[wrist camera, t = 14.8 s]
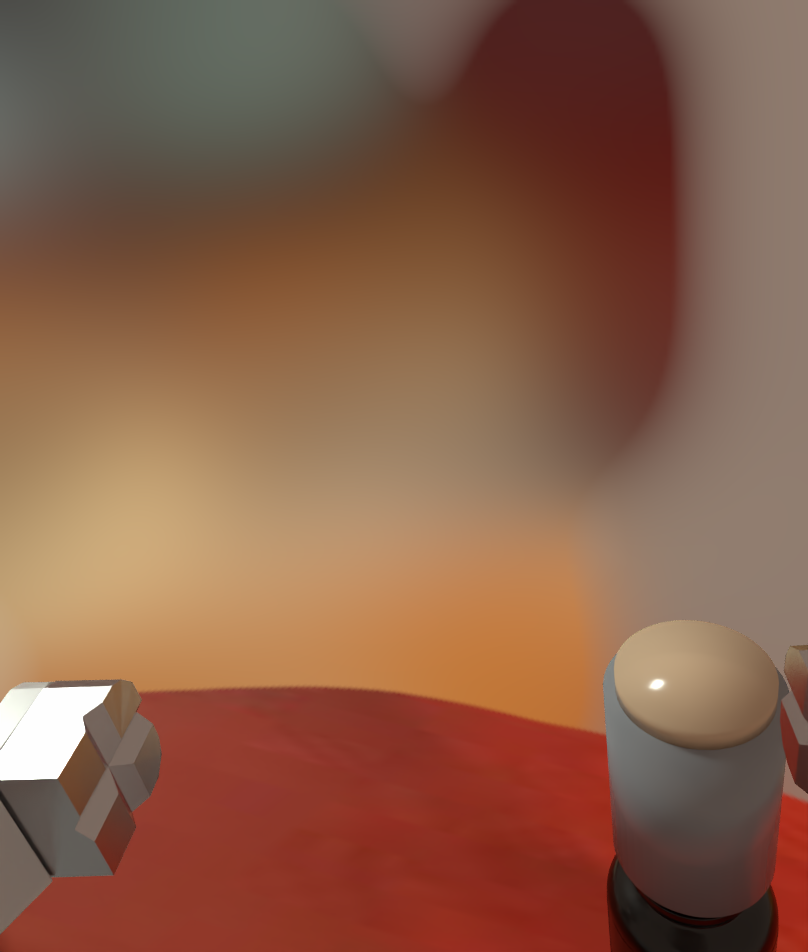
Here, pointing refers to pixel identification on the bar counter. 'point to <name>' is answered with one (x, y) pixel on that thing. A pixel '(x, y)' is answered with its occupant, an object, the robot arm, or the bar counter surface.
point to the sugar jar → (695, 765)
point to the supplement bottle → (684, 923)
